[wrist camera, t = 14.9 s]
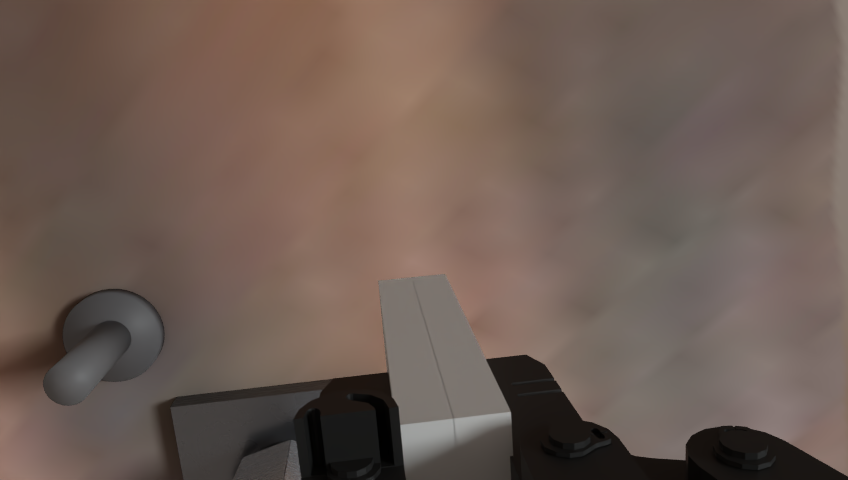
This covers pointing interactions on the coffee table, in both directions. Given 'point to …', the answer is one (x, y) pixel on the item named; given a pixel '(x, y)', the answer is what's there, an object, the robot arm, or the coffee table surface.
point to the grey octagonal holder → (271, 464)
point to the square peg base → (235, 426)
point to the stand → (104, 344)
